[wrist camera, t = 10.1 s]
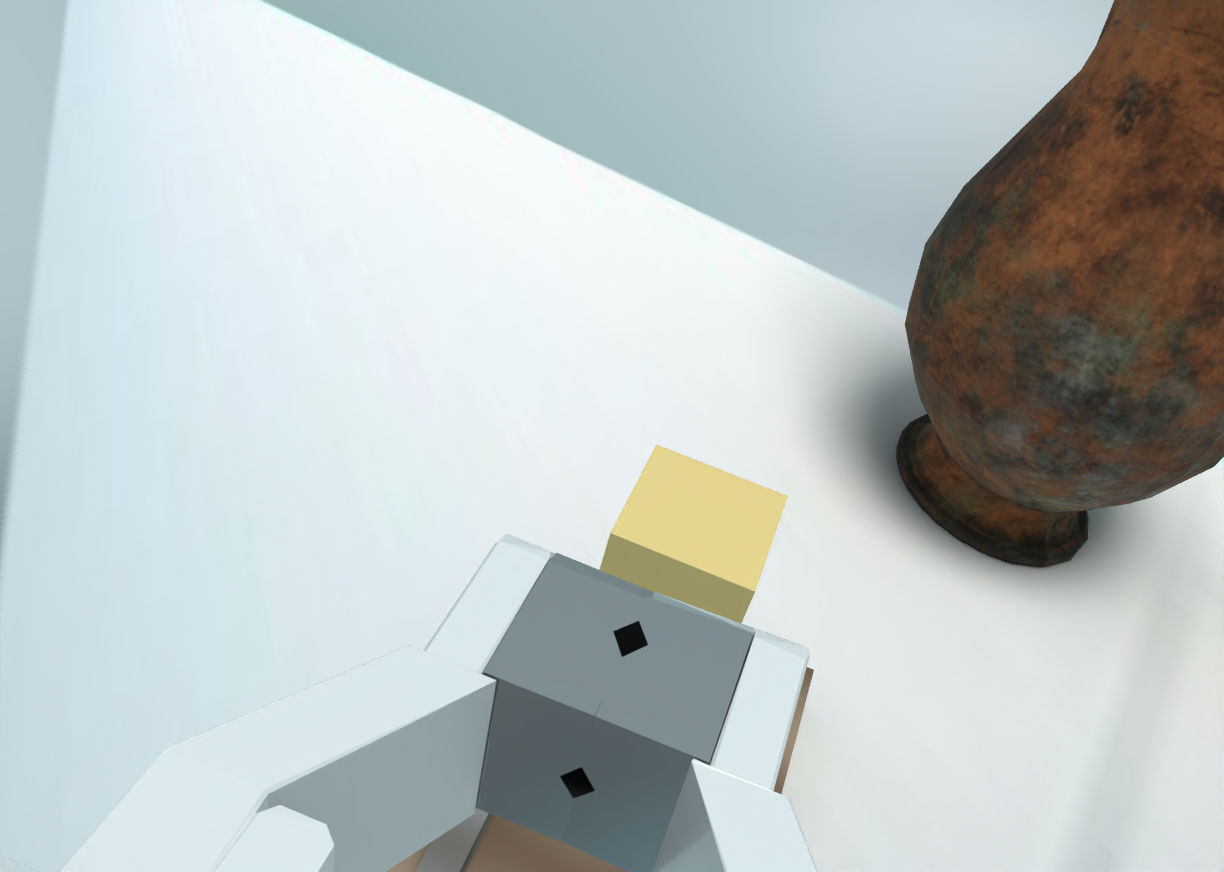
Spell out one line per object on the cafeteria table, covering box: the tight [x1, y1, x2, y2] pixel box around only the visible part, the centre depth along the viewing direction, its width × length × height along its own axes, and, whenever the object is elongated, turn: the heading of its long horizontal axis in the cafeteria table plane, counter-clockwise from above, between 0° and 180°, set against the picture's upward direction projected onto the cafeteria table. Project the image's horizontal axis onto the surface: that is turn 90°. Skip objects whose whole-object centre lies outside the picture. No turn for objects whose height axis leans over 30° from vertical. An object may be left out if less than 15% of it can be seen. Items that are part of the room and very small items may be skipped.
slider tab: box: [600, 445, 788, 623], centre depth 34 cm, size 5×4×14 cm
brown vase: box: [897, 0, 1224, 567], centre depth 48 cm, size 17×21×30 cm
